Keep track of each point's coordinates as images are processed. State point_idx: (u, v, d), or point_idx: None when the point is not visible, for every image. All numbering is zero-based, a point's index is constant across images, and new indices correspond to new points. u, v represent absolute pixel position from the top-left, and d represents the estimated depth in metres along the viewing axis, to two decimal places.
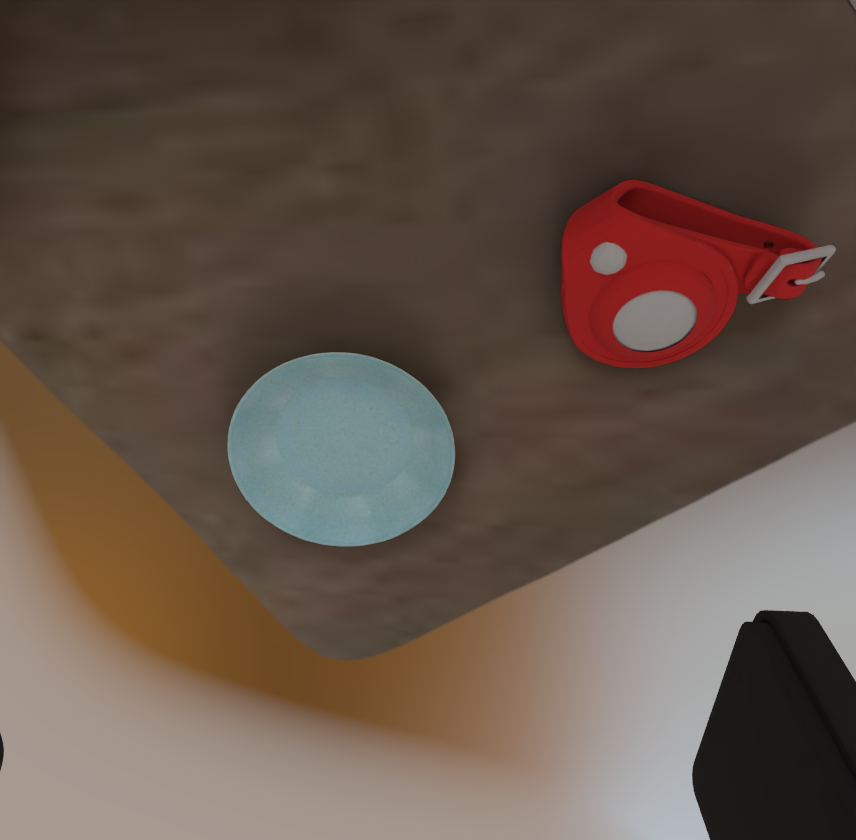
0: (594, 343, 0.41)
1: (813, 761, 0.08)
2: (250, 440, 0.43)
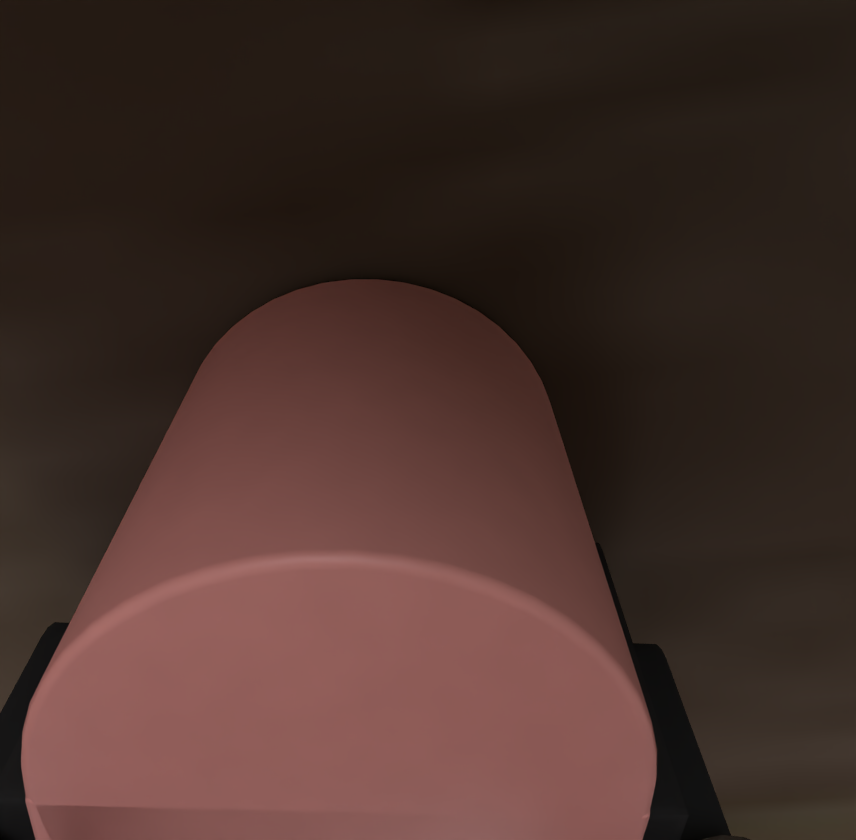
0: None
1: None
2: None
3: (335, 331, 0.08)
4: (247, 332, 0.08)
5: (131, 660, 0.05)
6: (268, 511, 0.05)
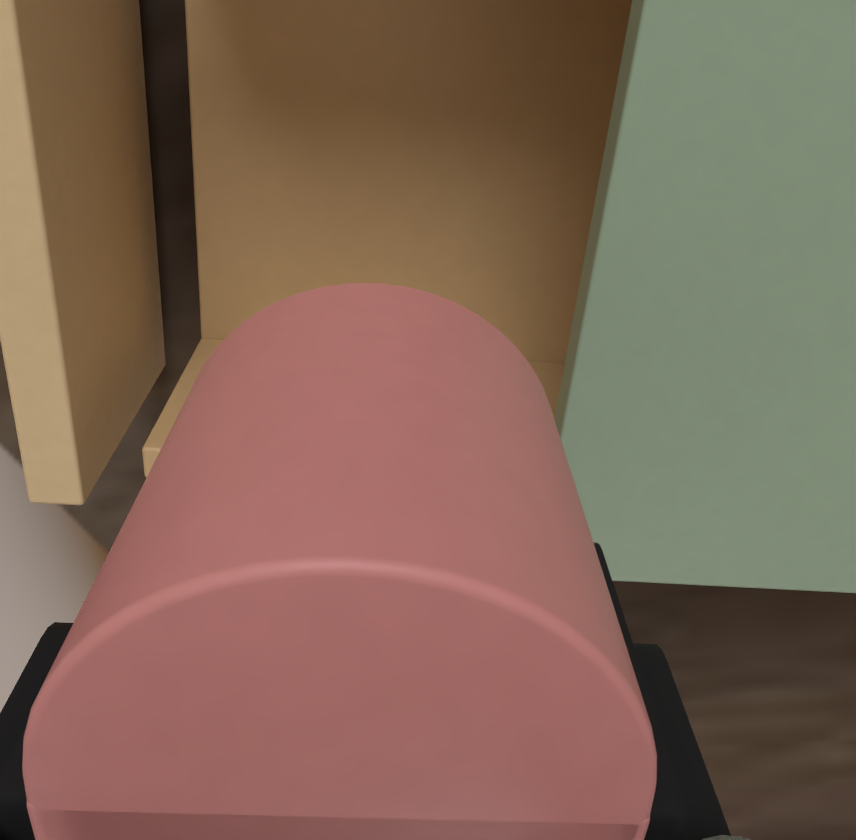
0: None
1: None
2: None
3: (336, 336, 0.08)
4: (248, 336, 0.08)
5: (132, 666, 0.05)
6: (269, 517, 0.05)
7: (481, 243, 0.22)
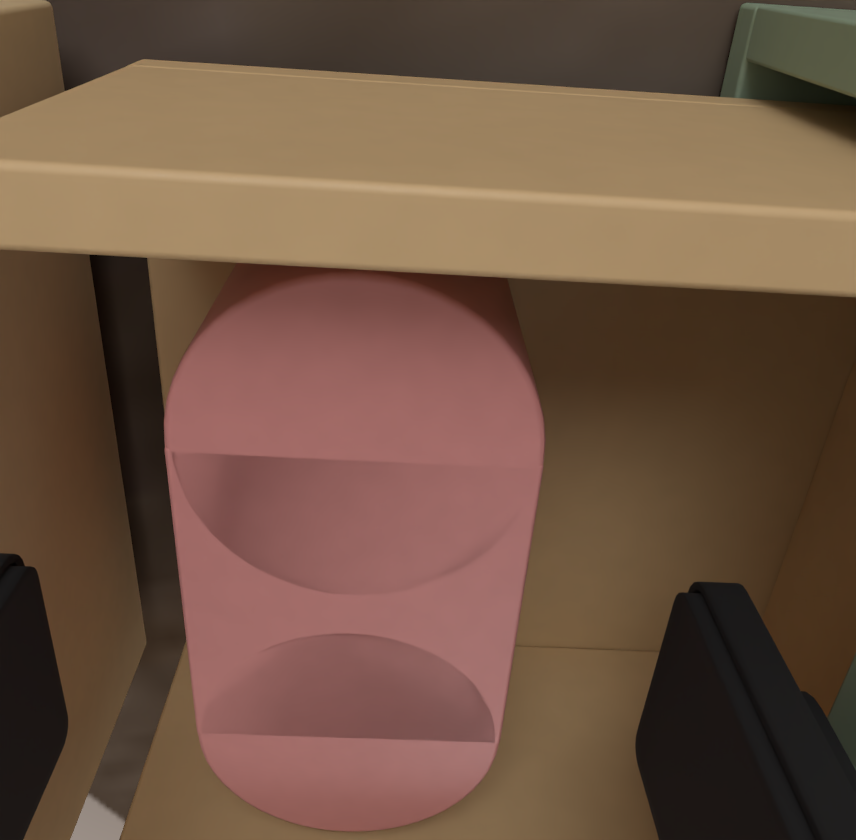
0: None
1: (731, 720, 0.08)
2: None
3: None
4: None
5: (234, 344, 0.09)
6: None
7: (558, 524, 0.16)
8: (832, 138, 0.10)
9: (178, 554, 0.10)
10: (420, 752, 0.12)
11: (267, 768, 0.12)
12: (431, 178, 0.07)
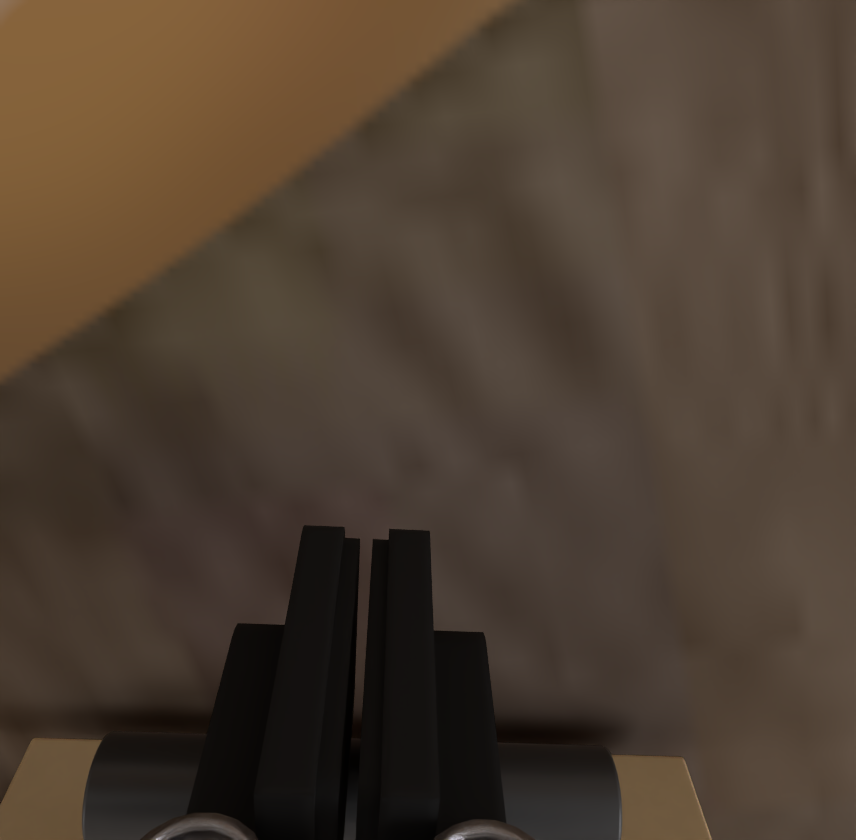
0: None
1: None
2: None
3: None
4: None
5: None
6: None
7: None
8: None
9: None
10: None
11: None
12: None
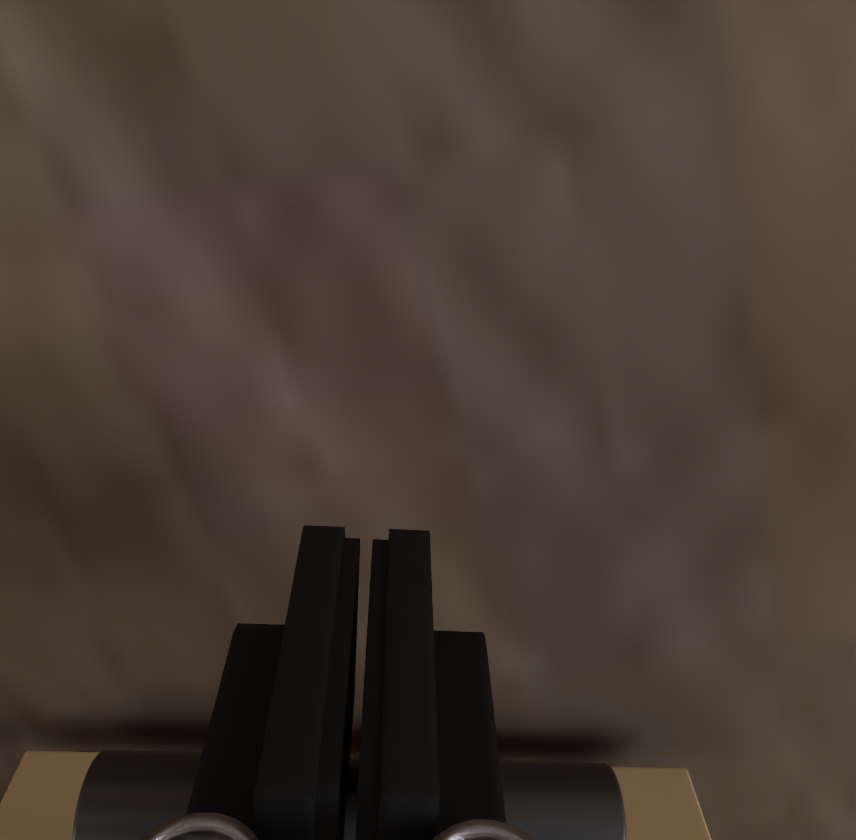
0: None
1: None
2: None
3: None
4: None
5: None
6: None
7: None
8: None
9: None
10: None
11: None
12: None
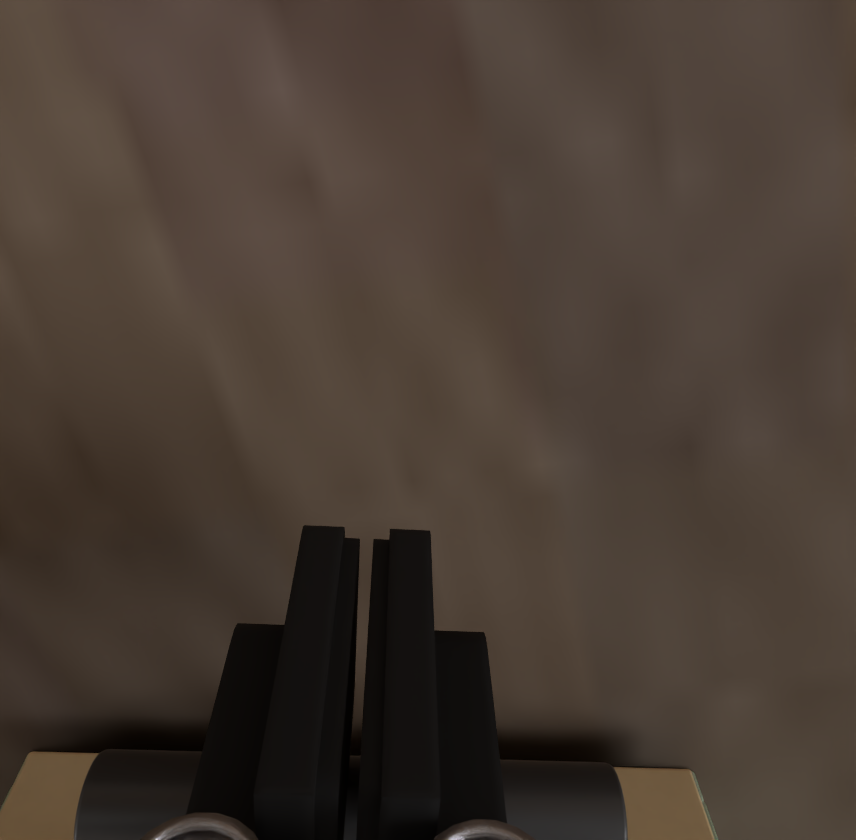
0: None
1: None
2: None
3: None
4: None
5: None
6: None
7: None
8: None
9: None
10: None
11: None
12: None
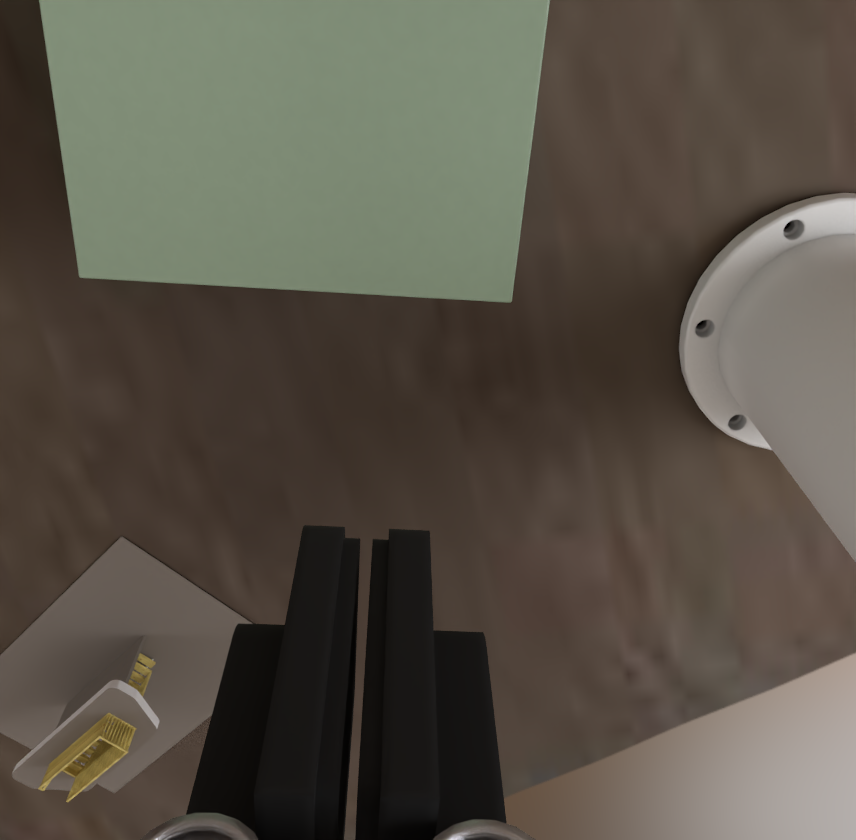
0: None
1: None
2: None
3: None
4: None
5: None
6: None
7: None
8: None
9: None
10: None
11: None
12: None
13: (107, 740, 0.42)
